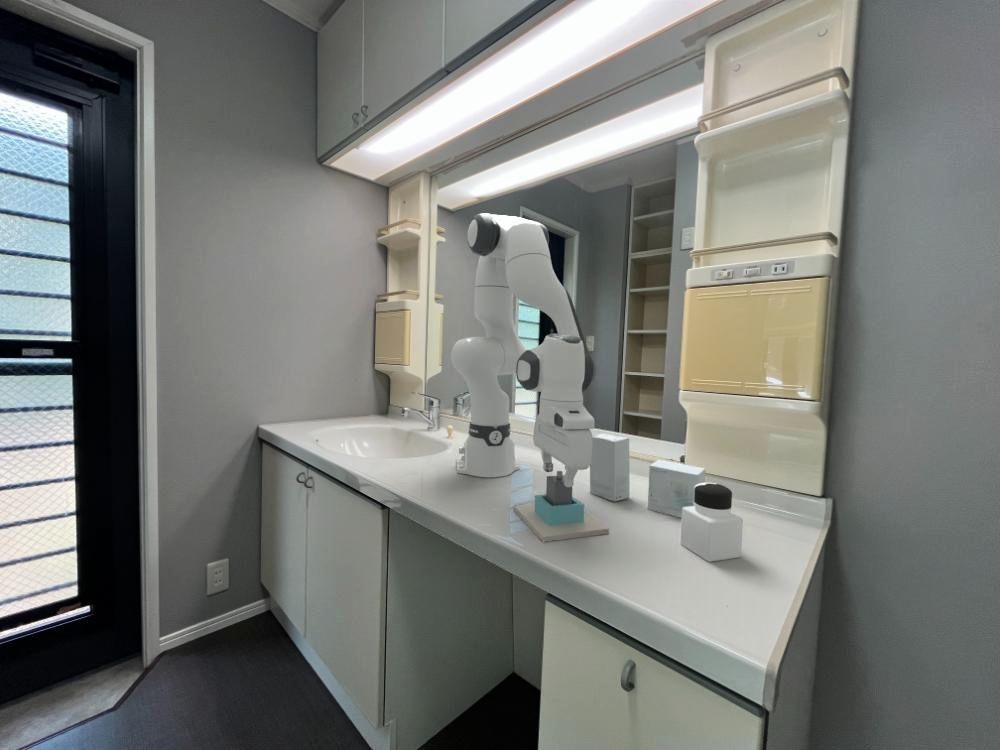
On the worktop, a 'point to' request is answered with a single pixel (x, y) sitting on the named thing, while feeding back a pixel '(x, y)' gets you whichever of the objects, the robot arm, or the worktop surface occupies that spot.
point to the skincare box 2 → (672, 486)
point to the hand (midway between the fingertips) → (557, 478)
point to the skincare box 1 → (610, 467)
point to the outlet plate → (559, 520)
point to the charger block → (557, 491)
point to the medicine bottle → (712, 524)
